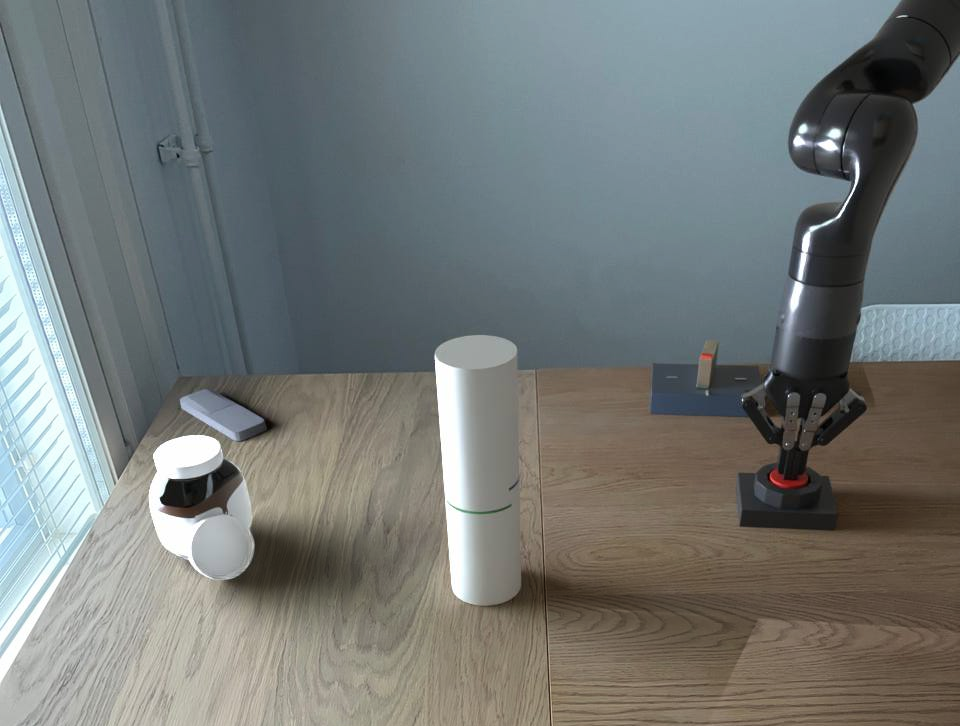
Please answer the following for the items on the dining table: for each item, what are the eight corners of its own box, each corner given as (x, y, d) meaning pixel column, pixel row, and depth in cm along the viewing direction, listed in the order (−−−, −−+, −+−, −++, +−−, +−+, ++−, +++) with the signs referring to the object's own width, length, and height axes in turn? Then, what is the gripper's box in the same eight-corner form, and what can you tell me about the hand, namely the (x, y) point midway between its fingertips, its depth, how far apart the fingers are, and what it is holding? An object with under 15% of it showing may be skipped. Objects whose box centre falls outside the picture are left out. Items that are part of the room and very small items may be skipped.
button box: (825, 492, 112) (831, 461, 109) (834, 531, 105) (841, 499, 103) (735, 488, 113) (739, 458, 110) (739, 526, 107) (743, 495, 104)
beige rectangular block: (703, 368, 131) (706, 337, 128) (715, 369, 130) (719, 338, 128) (696, 387, 126) (699, 356, 124) (708, 389, 126) (712, 357, 123)
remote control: (270, 433, 129) (209, 395, 137) (268, 421, 128) (206, 383, 136) (238, 446, 127) (178, 407, 135) (236, 434, 126) (175, 395, 134)
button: (803, 481, 109) (806, 467, 108) (807, 500, 106) (810, 486, 105) (766, 480, 109) (768, 466, 108) (769, 499, 106) (771, 484, 105)
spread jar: (213, 514, 113) (190, 422, 106) (293, 536, 109) (275, 443, 102) (141, 569, 105) (111, 474, 98) (224, 596, 101) (199, 499, 93)
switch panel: (755, 384, 133) (758, 362, 131) (760, 419, 126) (764, 396, 124) (651, 381, 135) (652, 360, 133) (649, 416, 127) (651, 393, 125)
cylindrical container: (533, 575, 101) (531, 343, 86) (499, 613, 97) (491, 375, 81) (474, 557, 104) (462, 329, 89) (438, 593, 100) (418, 359, 84)
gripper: (882, 307, 97) (847, 461, 108) (745, 304, 99) (725, 456, 110) (895, 337, 92) (857, 497, 103) (750, 334, 94) (728, 491, 105)
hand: (788, 476), depth 107 cm, fingers closed
